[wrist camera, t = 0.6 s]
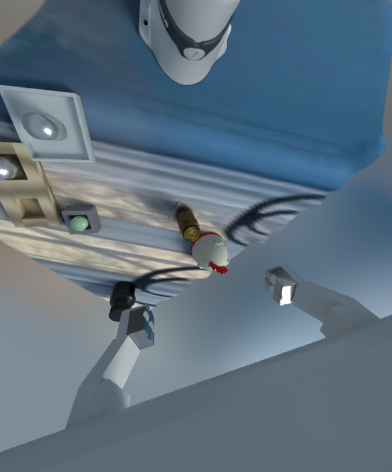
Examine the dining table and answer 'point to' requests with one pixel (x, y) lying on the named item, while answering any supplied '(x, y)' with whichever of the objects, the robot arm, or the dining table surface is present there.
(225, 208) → the dining table surface
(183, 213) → the condiment
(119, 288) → the ink bottle
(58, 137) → the grey metal cylinder
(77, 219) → the button
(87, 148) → the white square tray
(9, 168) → the silver domed cylinder
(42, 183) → the frame
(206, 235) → the white red dome
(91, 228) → the button housing
